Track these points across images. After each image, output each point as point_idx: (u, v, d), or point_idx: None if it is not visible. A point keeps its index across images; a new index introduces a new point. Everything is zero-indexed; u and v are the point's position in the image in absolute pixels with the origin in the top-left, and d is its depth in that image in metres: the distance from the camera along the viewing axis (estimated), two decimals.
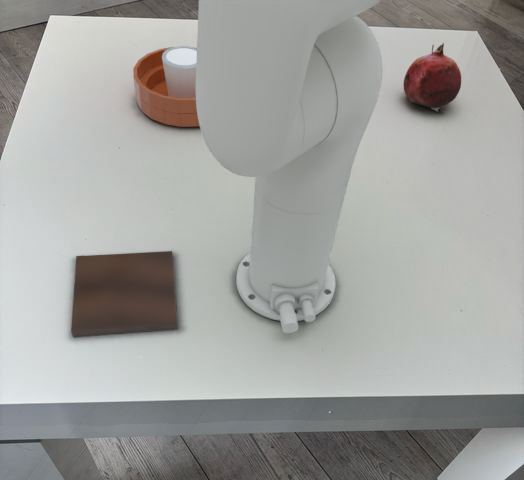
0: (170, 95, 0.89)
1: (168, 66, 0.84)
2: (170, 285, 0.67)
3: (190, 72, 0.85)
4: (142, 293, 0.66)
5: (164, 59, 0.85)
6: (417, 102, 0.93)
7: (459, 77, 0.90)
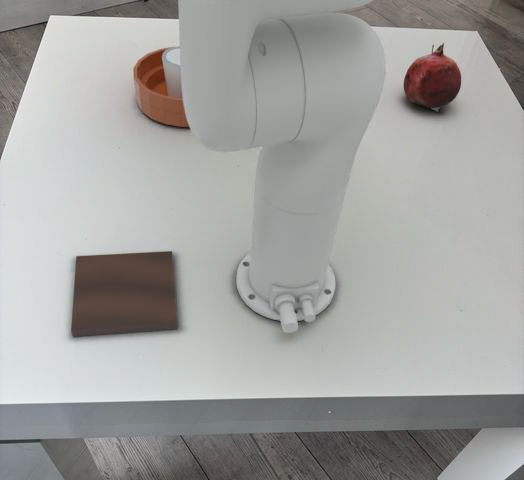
0: (170, 95, 0.89)
1: (168, 66, 0.84)
2: (170, 285, 0.67)
3: None
4: (142, 293, 0.66)
5: (164, 59, 0.85)
6: (417, 102, 0.93)
7: (459, 77, 0.90)
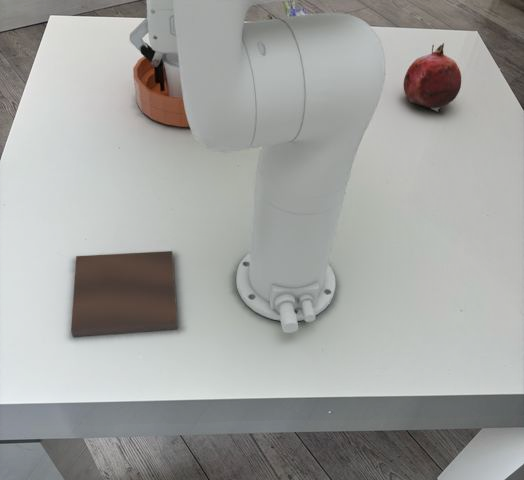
0: (170, 95, 0.89)
1: (168, 66, 0.84)
2: (170, 285, 0.67)
3: None
4: (142, 293, 0.66)
5: (164, 59, 0.85)
6: (417, 102, 0.93)
7: (459, 77, 0.90)
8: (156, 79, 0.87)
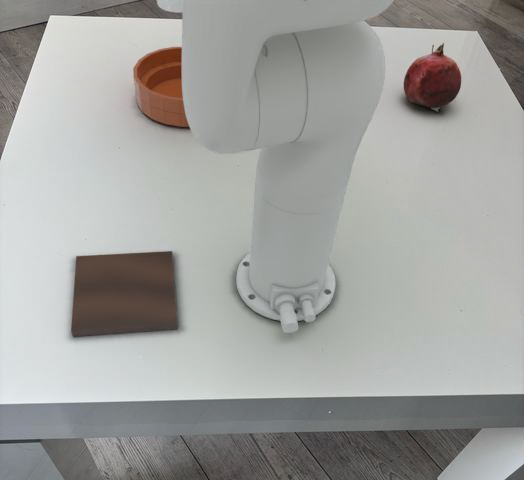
0: None
1: None
2: (170, 285, 0.67)
3: None
4: (142, 293, 0.66)
5: None
6: (417, 102, 0.93)
7: (459, 77, 0.90)
8: None
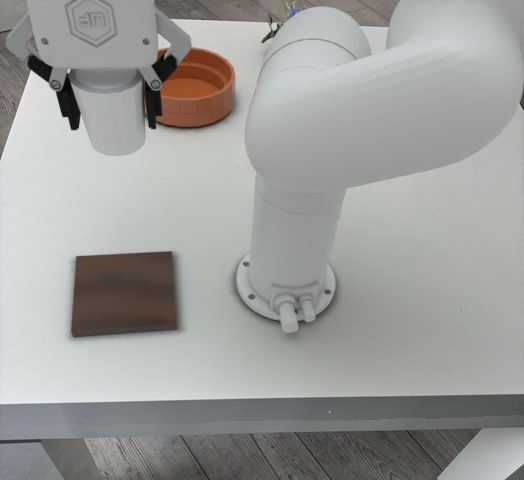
0: (89, 136, 0.54)
1: (77, 90, 0.49)
2: (170, 285, 0.67)
3: (115, 100, 0.49)
4: (142, 293, 0.66)
5: (71, 78, 0.50)
6: None
7: None
8: (63, 111, 0.52)
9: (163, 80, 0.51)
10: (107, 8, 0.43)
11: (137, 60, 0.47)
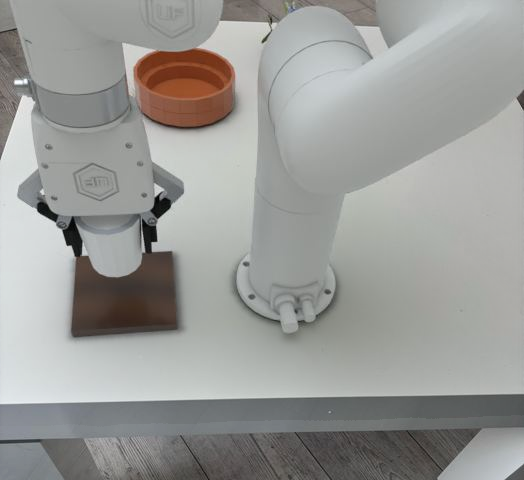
0: (91, 260, 0.60)
1: (81, 230, 0.55)
2: (170, 285, 0.67)
3: (115, 238, 0.55)
4: (142, 293, 0.66)
5: (76, 218, 0.55)
6: None
7: None
8: (67, 242, 0.58)
9: (158, 216, 0.57)
10: (110, 174, 0.49)
11: (136, 208, 0.53)
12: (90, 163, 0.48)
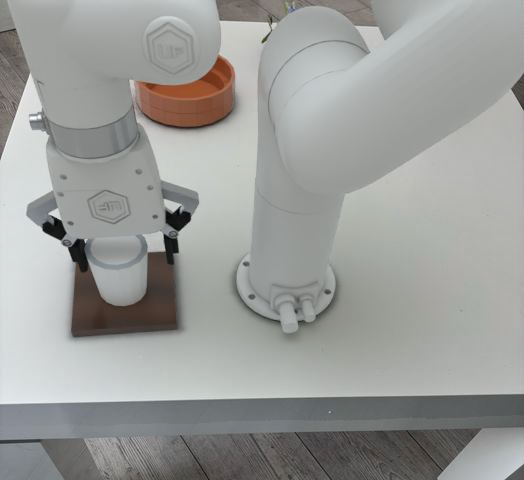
0: (99, 290, 0.64)
1: (92, 264, 0.59)
2: (170, 285, 0.67)
3: (124, 273, 0.59)
4: None
5: (87, 253, 0.59)
6: None
7: None
8: (73, 258, 0.60)
9: (179, 229, 0.58)
10: (122, 198, 0.52)
11: (148, 229, 0.55)
12: (102, 189, 0.51)
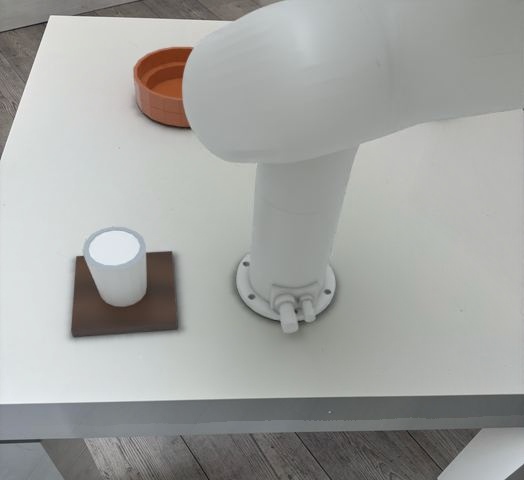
0: (99, 291, 0.64)
1: (91, 265, 0.59)
2: (170, 285, 0.67)
3: (122, 273, 0.59)
4: None
5: (85, 254, 0.59)
6: None
7: None
8: None
9: None
10: None
11: None
12: None
